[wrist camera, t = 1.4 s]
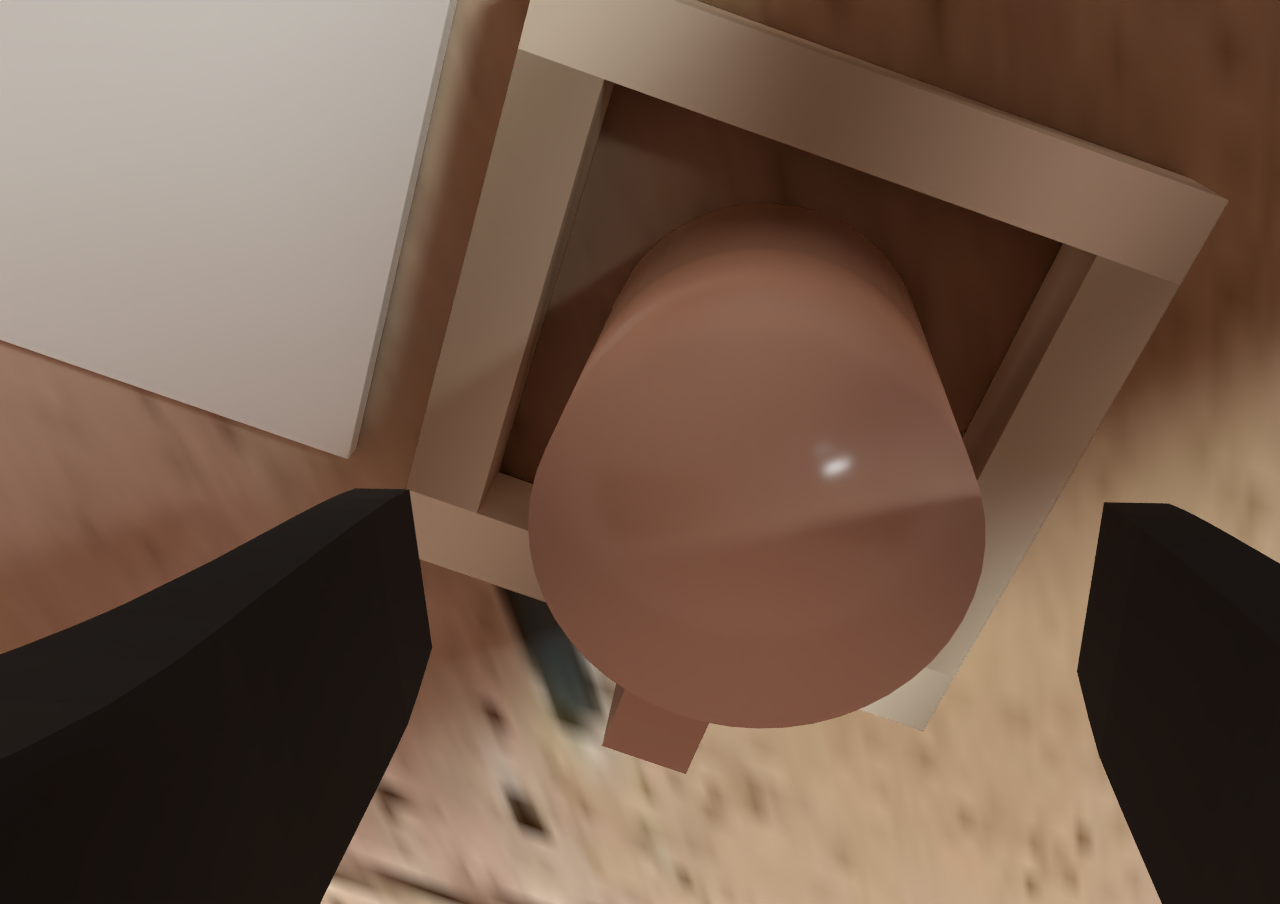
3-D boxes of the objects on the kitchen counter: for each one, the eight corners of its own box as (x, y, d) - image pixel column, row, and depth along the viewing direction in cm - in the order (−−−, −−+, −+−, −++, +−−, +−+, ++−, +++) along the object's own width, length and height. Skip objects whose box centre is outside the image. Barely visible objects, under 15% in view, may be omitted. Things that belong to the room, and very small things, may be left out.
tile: (464, -27, 15) (456, -27, 15) (356, 449, 19) (347, 459, 18) (-80, -223, 15) (-101, -227, 15) (-86, 297, 19) (-103, 304, 18)
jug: (976, 267, 16) (1071, 427, 11) (808, 614, 19) (819, 875, 14) (662, 157, 16) (601, 262, 11) (543, 522, 19) (449, 750, 14)
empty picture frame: (1189, 178, 15) (1229, 200, 14) (913, 677, 19) (923, 731, 18) (564, -48, 15) (542, -47, 14) (418, 507, 19) (390, 549, 18)
